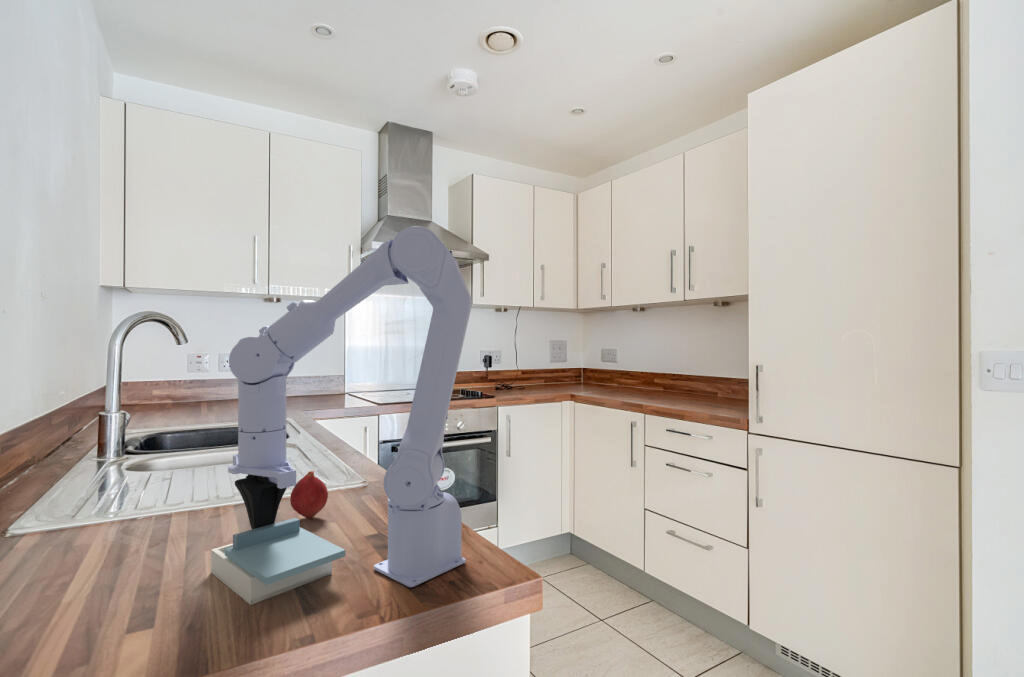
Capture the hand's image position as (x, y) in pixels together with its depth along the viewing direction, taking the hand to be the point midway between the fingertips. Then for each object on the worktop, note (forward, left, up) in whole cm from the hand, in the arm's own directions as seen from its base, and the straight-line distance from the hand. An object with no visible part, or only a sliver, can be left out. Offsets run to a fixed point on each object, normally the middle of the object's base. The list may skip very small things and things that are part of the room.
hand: (262, 531), depth 67 cm
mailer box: (0, +3, -5) cm, 5 cm away
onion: (-13, -12, -5) cm, 19 cm away
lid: (0, +6, -1) cm, 6 cm away
